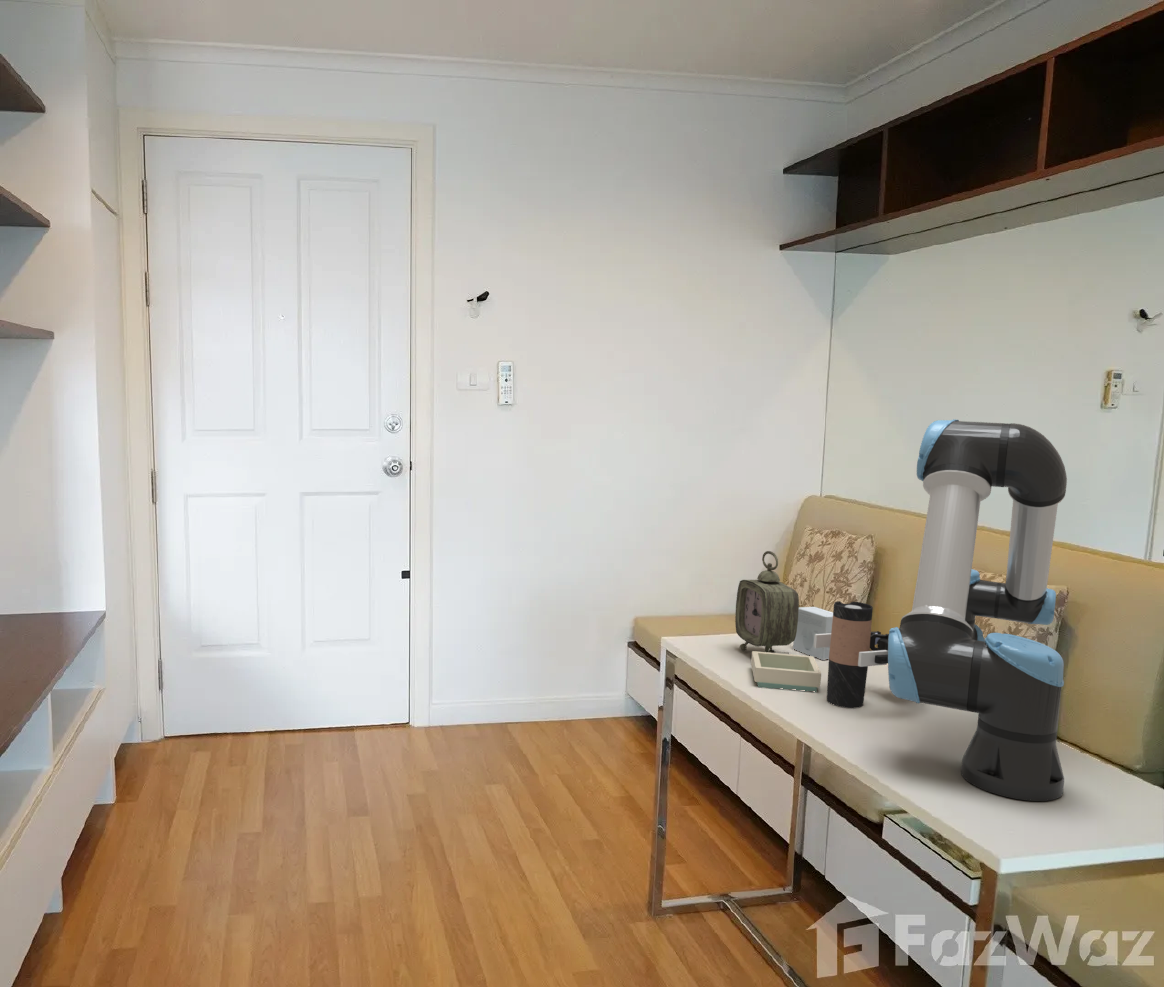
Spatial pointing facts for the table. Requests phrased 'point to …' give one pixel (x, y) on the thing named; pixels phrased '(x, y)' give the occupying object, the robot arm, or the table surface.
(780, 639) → the tabletop clock
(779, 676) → the rectangular tray
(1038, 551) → the robot arm
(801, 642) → the skincare box
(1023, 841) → the table surface
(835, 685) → the travel mug
